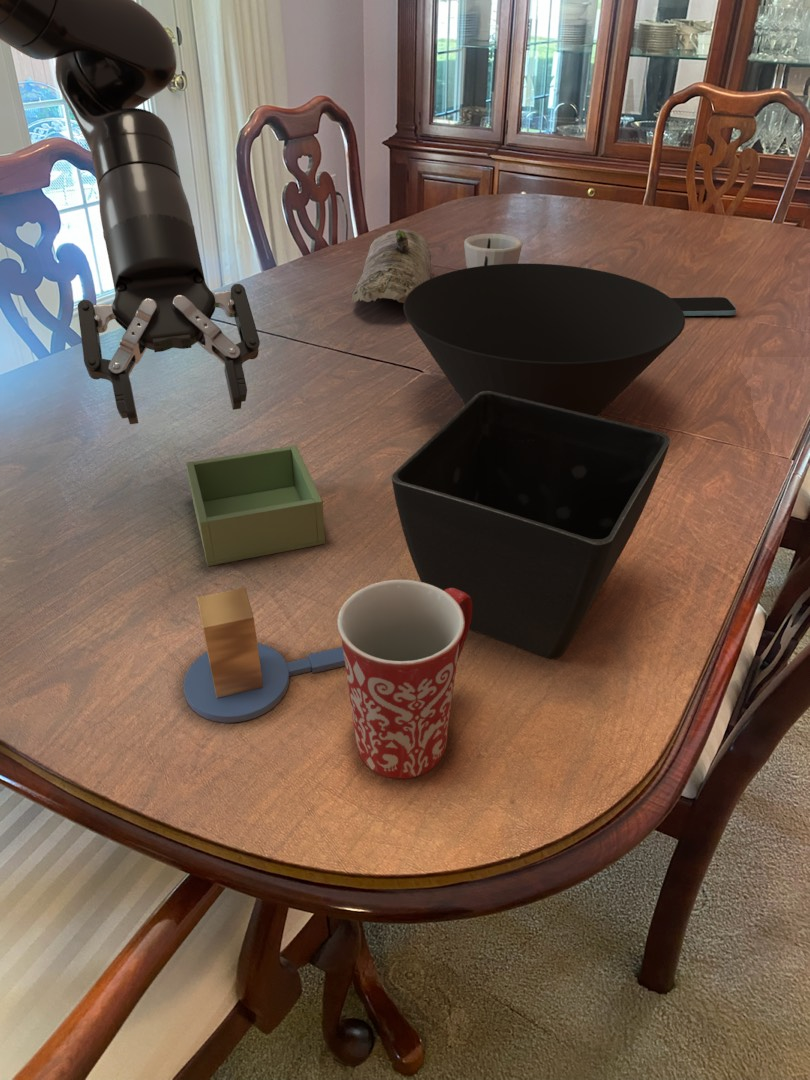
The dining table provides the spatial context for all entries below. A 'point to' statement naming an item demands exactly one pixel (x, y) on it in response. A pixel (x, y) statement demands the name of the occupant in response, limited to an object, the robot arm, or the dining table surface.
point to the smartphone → (705, 306)
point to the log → (394, 266)
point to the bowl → (542, 331)
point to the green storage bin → (255, 504)
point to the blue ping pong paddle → (256, 700)
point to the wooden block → (231, 642)
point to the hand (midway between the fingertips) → (186, 413)
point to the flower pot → (525, 512)
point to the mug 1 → (402, 671)
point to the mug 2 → (491, 250)
